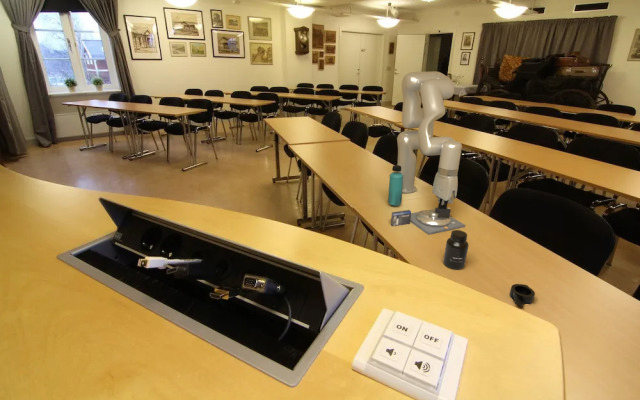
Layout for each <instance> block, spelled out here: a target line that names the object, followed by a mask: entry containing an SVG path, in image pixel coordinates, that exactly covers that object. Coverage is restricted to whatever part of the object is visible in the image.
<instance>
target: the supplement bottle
mask: <svg viewBox="0 0 640 400" xmlns="http://www.w3.org/2000/svg"><path fill="white" fill-rule="evenodd" d="M467 240H468V234H467V233H466V231H463V230H460V229H454V230H451V232H450V237H449V238H447V239H446V243H445V248H444V255H443V261H442V262H443V263H442V264H443V265H444V266H445V267H447V268H449V269H451V270H462V269H463V268H464V267H465V266H466V261H467V255H468V251H469V245H470V244H469V242H468V241H467Z"/></svg>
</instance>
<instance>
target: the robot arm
mask: <svg viewBox="0 0 640 400" xmlns="http://www.w3.org/2000/svg"><path fill="white" fill-rule="evenodd" d="M419 92H420V93H419ZM401 93H402V99H403V100H402V101H403V102H402V112H401V124H402V126H403V128H406V129H418V130H405V131H401V132H399V134H398V135H397V137H396V141H397V164H396V165H399V166H401V171H400V173H402V174H403V188H402V190H403V191H402V194H412V193H415V192H416V191H417V189H418V188H417V186H415V181H416V169H417V156H416V154H415V152H414V150H420V152H421V153H422V154H423V156H439V161H438V163H439V164H438V169H437V172H436V173H435V176H434V180H433V184H432V185H433V186H432V194H433V195H435V197H436V198H437V203H438V206H437V208H448V205H449V204H450V205H451V204H454V203H455V199H456V198H457V193H458V186H459V185H458V184H459V182H458V181H459V180H458V172H459V166H460V161H461V155H462V149H463V145H462V143H461V142H460V141H457V140H455V139H454V138H453V137H451V136H435V137H433V136H434V130H435V129H434V128H435V121H437V120H439V119H441V118H442V117H443V116H444V115H445V114H446V107H445V103H444V100H446V99H450V98H452V97H453V96H454V93H455V85H454V81H453V80H452V79H451V78H449V76H447V75H445V74H444V73H442V72H440V71H413V72H408V73H406V74H405V75H404V76H403V77H402V80H401ZM421 105H422V107H421Z"/></svg>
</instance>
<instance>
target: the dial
mask: <svg viewBox="0 0 640 400" xmlns="http://www.w3.org/2000/svg"><path fill="white" fill-rule="evenodd" d="M434 209H435V210H431V209H425V210H423V209H422V210H420V211H417V212H418V213H417V215H416V219H417V220H418V221H419V222H420V223H422V224H424V225H428V226H433V227H442V226H447V225H449V224H450V222H451V217H452V216H451V211H452V208H451V207H447V208H438V207H435V208H434ZM450 216H451V217H450Z"/></svg>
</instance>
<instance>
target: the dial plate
mask: <svg viewBox="0 0 640 400" xmlns="http://www.w3.org/2000/svg"><path fill="white" fill-rule="evenodd" d="M430 210H435V208H432V209H430ZM418 212H419V211H416V212H411V219H410V224H412V225H414V226H415V227H417V228H418V229H420V231H422V232H424V233H425V234H427V235H428V236H431V235H436V234H440V233H443V232H444V233H445V232H448V231H453V230H459V229H462V228H463V229H464V228H466V224H465V223H463V222H461V221H460V220H458V219H456V218H454V217H452V216H451V215H450V217H451V222H450V224H449V225H447V226H442V227H433V226H428V225H424V224H422V223H420V222H419V221H418V220H417V219H416V215H417V213H418Z"/></svg>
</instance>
